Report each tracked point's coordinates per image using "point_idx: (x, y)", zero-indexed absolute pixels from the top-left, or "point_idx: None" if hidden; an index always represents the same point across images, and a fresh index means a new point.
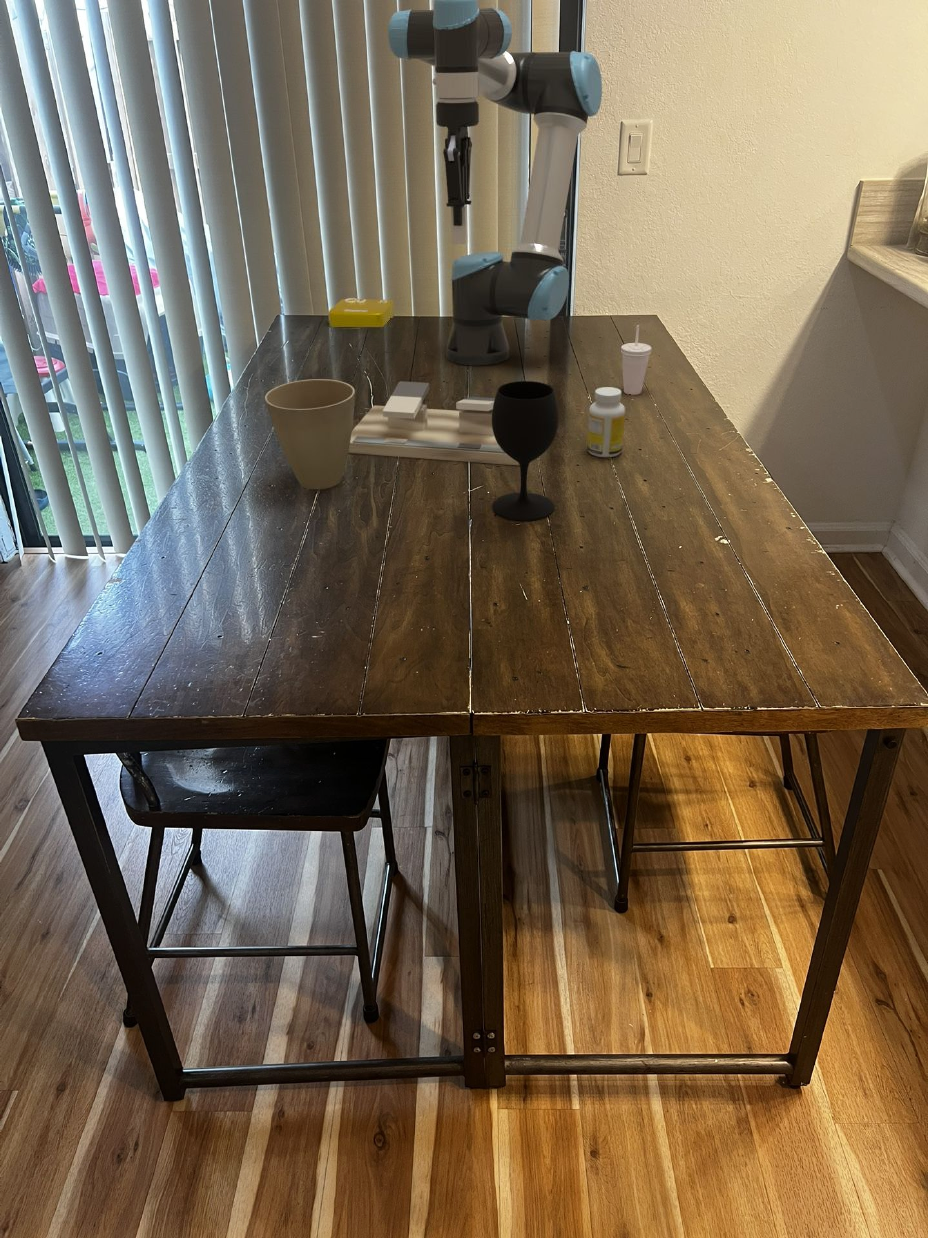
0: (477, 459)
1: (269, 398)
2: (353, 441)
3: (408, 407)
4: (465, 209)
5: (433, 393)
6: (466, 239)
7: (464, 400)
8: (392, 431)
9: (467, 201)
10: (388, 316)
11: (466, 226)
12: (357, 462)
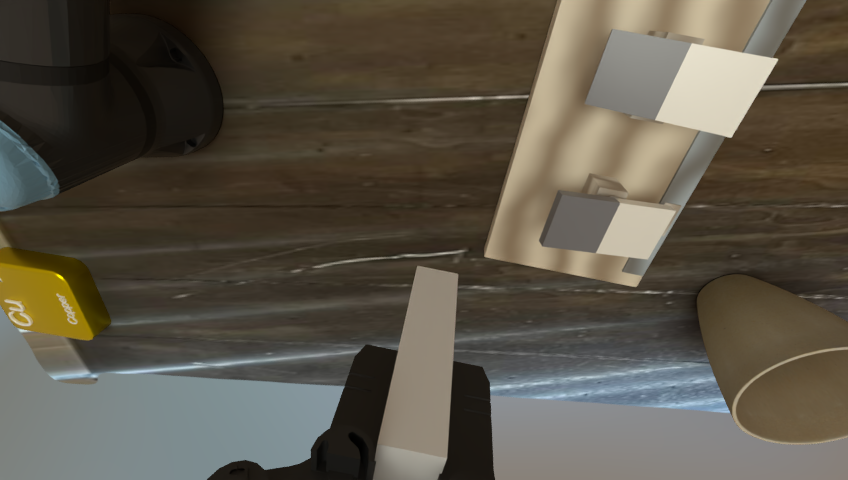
0: None
1: (777, 434)
2: (642, 274)
3: (651, 221)
4: (445, 434)
5: (383, 166)
6: (441, 282)
7: (681, 118)
8: None
9: (360, 471)
10: (33, 257)
11: (429, 328)
12: (675, 258)
